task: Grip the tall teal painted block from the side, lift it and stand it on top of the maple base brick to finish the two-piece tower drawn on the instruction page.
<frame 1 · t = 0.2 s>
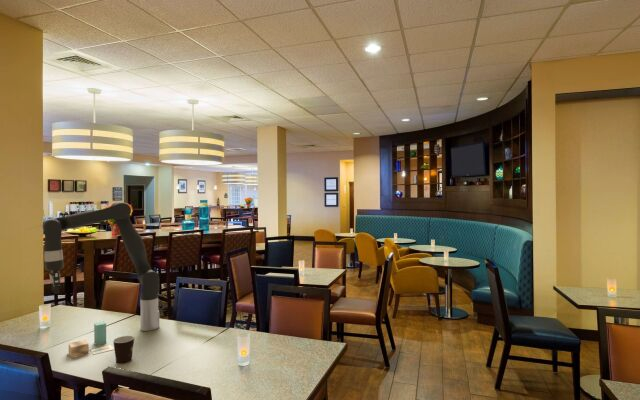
hand: (55, 292, 187), 28 cm above the table, tool pointing down, fingers open, 8 cm apart
coffee mug: (126, 359, 175), on the table
instruction page: (102, 349, 186), on the table
tall block: (100, 342, 195), on the table
base brick: (78, 353, 182), on the table
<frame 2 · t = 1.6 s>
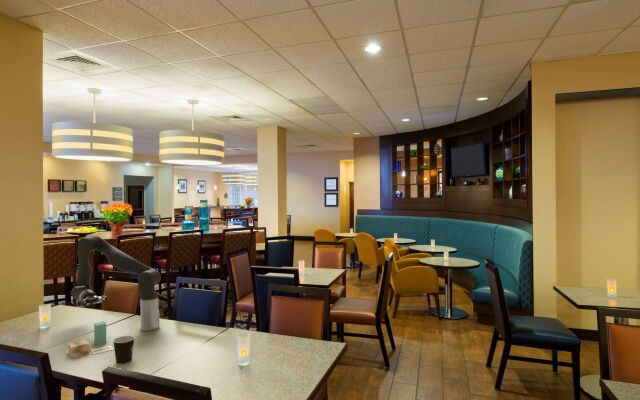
hand: (95, 303, 203), 18 cm above the table, tool horizontal, fingers open, 8 cm apart
nothing on the table moved.
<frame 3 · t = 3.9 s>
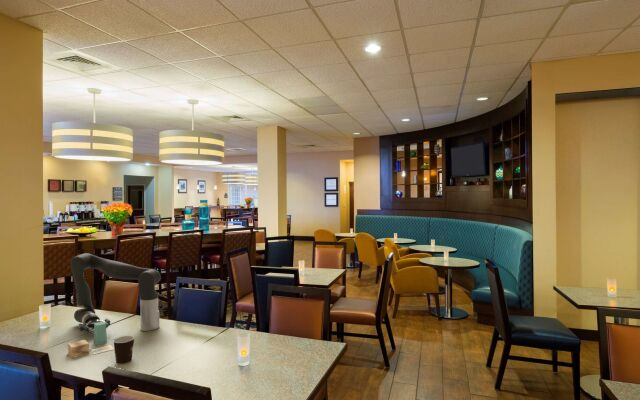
hand: (97, 328, 199), 6 cm above the table, tool horizontal, fingers open, 8 cm apart
nothing on the table moved.
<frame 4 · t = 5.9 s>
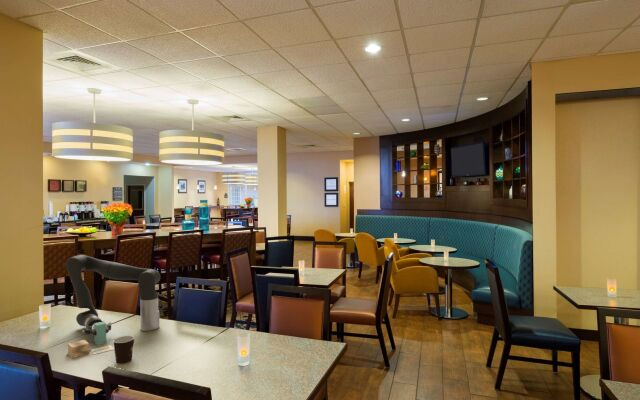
hand: (101, 332, 193), 6 cm above the table, tool horizontal, fingers closed on tall block, 4 cm apart
tall block: (100, 342, 195), on the table, touching gripper
everything else where it was.
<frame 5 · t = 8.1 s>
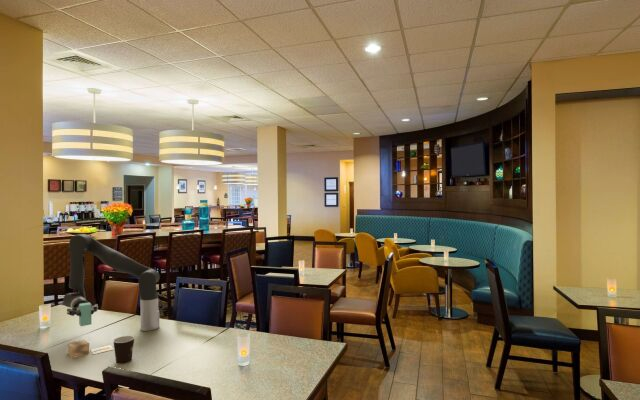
hand: (86, 313, 185), 18 cm above the table, tool horizontal, fingers closed on tall block, 4 cm apart
tall block: (85, 324, 187), point 12 cm above the table, touching gripper
everything else where it was.
when the fingers open (12 cm above the table, at t = 10.4 s): tall block drops 1 cm, resting on base brick.
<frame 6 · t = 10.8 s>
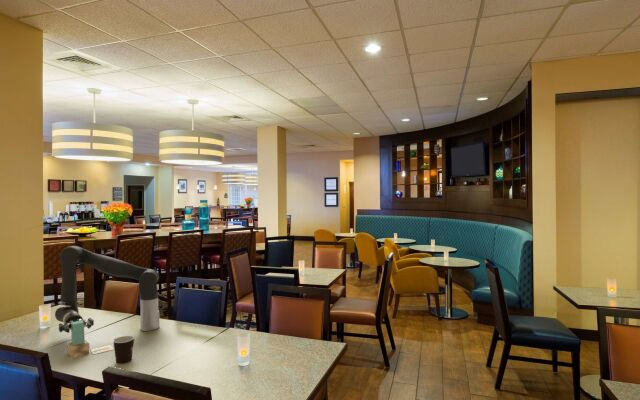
hand: (79, 328, 180), 12 cm above the table, tool horizontal, fingers open, 8 cm apart
tall block: (78, 343, 182), point 5 cm above the table, touching base brick
base brick: (78, 353, 182), on the table, touching tall block
everything else where it was.
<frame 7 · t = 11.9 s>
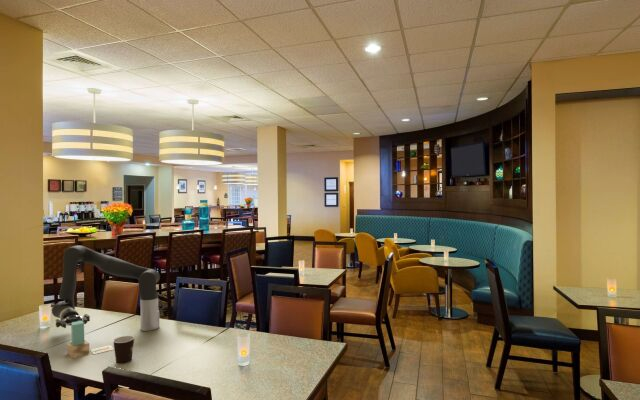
hand: (75, 324, 187), 12 cm above the table, tool horizontal, fingers open, 8 cm apart
tall block: (78, 343, 182), point 5 cm above the table
base brick: (78, 353, 182), on the table
everything else where it was.
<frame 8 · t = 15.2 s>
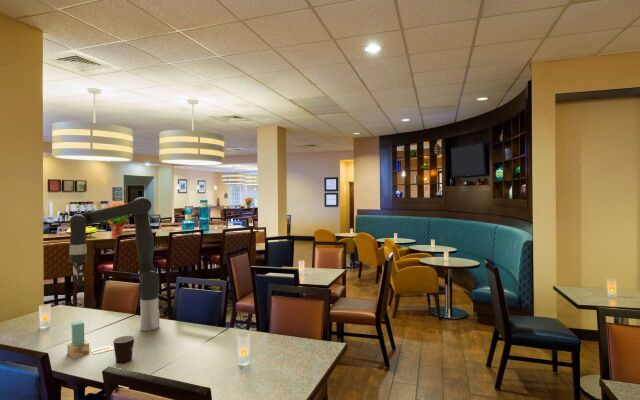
hand: (78, 284, 196), 30 cm above the table, tool pointing down, fingers open, 8 cm apart
tall block: (78, 343, 182), point 5 cm above the table, touching base brick
base brick: (78, 353, 182), on the table, touching tall block
everything else where it was.
at the end: tall block 0.1 cm off-centre on the base brick, point 5.1 cm above the base brick's base; tall block tilted 2°; the gripper is holding nothing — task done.
